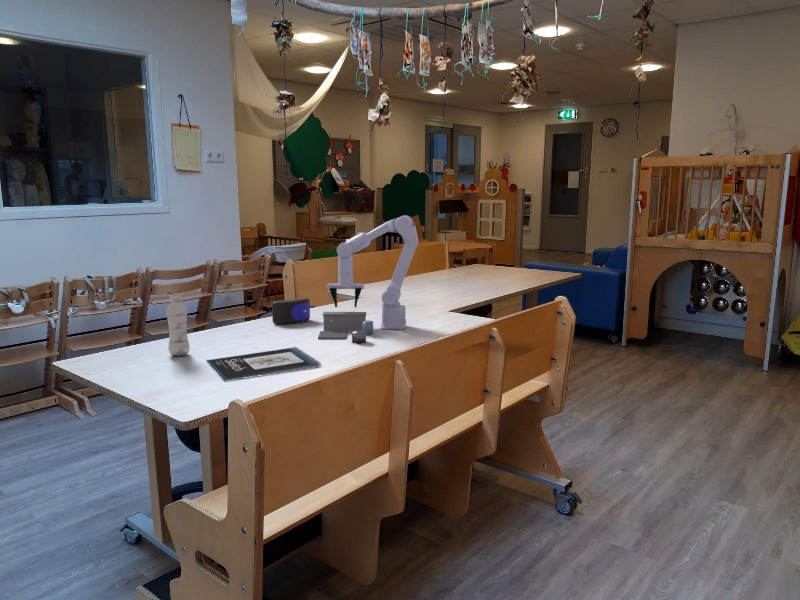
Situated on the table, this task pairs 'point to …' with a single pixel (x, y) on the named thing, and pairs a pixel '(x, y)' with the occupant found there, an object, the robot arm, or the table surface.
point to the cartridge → (368, 327)
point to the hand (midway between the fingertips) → (345, 306)
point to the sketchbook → (262, 363)
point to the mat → (332, 335)
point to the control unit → (343, 321)
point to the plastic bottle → (177, 326)
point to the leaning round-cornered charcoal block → (291, 311)
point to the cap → (359, 336)
